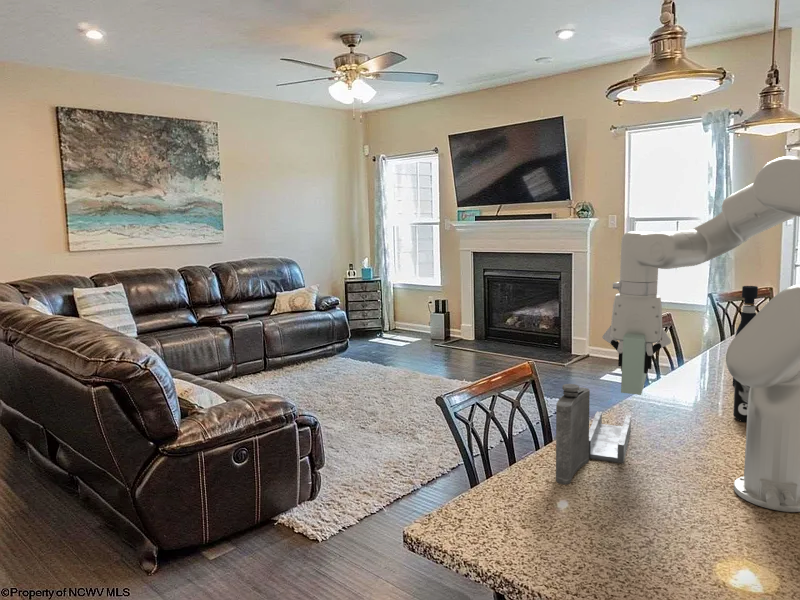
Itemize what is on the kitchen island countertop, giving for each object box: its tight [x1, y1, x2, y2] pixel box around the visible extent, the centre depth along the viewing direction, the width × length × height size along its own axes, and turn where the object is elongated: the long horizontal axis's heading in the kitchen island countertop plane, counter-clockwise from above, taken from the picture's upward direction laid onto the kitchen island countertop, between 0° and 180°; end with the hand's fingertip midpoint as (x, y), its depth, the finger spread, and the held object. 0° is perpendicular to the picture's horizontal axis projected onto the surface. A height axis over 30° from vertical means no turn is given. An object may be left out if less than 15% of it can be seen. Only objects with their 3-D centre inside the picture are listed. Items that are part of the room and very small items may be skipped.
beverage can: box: [733, 379, 750, 424], centre depth 144 cm, size 7×7×12 cm
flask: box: [555, 383, 591, 485], centre depth 117 cm, size 4×14×18 cm, turn 145°
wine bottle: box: [732, 285, 759, 387], centre depth 170 cm, size 6×6×30 cm
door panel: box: [620, 334, 647, 396], centre depth 127 cm, size 14×4×12 cm, turn 153°
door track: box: [589, 411, 632, 464], centre depth 131 cm, size 20×8×4 cm, turn 154°
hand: (634, 370), depth 127 cm, fingers closed on door panel, 4 cm apart
